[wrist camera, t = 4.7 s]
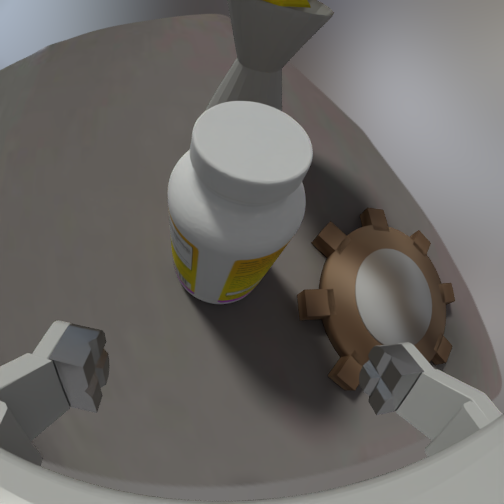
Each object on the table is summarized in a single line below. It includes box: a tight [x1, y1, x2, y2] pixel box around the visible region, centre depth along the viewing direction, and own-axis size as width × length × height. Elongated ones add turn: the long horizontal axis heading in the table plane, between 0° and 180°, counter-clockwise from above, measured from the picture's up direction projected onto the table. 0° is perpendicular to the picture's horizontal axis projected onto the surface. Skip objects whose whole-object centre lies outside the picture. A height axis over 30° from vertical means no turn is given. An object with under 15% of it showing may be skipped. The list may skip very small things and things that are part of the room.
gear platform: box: [297, 208, 455, 390], centre depth 23 cm, size 18×18×2 cm
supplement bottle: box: [168, 101, 313, 304], centre depth 16 cm, size 7×7×13 cm
